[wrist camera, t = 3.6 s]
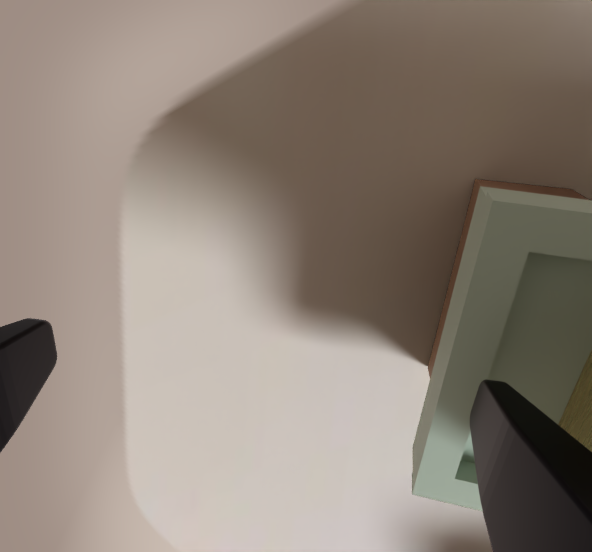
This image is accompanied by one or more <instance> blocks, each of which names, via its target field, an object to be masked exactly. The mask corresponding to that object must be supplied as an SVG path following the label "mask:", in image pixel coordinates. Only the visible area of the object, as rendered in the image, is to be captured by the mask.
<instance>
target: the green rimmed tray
mask: <svg viewBox="0 0 592 552" xmlns="http://www.w3.org/2000/svg"><path fill="white" fill-rule="evenodd" d="M591 350H592V200H585V199H577V198H569V197H561V196H553V195H545V194H537V193H530V192H522V191H514V190H506V189H498V188H490V187H482V186H480V189H479V193H478V196H477V200H476V204H475V208H474V212H473V216H472V220H471V224H470V227H469V231H468V235H467V239H466V243H465V247H464V251H463V255H462V258H461V262H460V266H459V270H458V274H457V278H456V282H455V286H454V289H453V293H452V297H451V301H450V305H449V309H448V313H447V316H446V320H445V324H444V328H443V332H442V336H441V340H440V344H439V347H438V351H437V355H436V359H435V363H434V367H433V371H432V375H431V378H430V382H429V386H428V390H427V394H426V398H425V402H424V406H423V409H422V413H421V417H420V421H419V425H418V429H417V433H416V437H415V440H414V444H413V473H412V494H413V495H417V496H421V497H425V498H429V499H433V500H437V501H442V502H446V503H450V504H454V505H458V506H462V507H466V508H471V509H475V510H479V511H483V510H482V506H481V501H480V495H479V489H478V482H477V475H476V467H475V460H474V453H473V446H472V438H471V431H470V413H471V409H472V406H473V403H474V400H475V397H476V394H477V391H478V387H479V385H480V383H481V382H482V381H483V380H485V379H487V380H495V381H502V382H506V383H507V384H509V385H510V386H511V387H512V388H514V389H515V390H516V391H517V392H519V393H520V394H521V395H522V396H523V397H525V398H526V399H527V400H528V401H530V402H531V403H532V404H533V405H535V406H536V407H537V408H538V409H539V410H541V411H542V412H543V413H544V414H546V415H547V416H548V417H549V418H550V419H552V420H553V421H554V422H555V423H557V424H559V422H560V419H561V417H562V415H563V413H564V410H565V408H566V406H567V404H568V401H569V399H570V397H571V395H572V392H573V390H574V388H575V386H576V383H577V381H578V379H579V377H580V374H581V372H582V370H583V368H584V365H585V363H586V361H587V359H588V356H589V354H590V352H591Z"/></svg>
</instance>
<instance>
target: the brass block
mask: <svg viewBox="0 0 592 552" xmlns="http://www.w3.org/2000/svg"><path fill="white" fill-rule="evenodd" d="M558 425H559V426H560V427H562V428H563V429H564V430H565V431H566V432H568V433H569V434H570V435H571V436H573V437H574V438H575V439H576V440H578V441H579V442H580V443H581V444H582V445H584V446H585V447H586V448H587V449H589V450H590V451H591V452H592V350H591V352H590V354H589V356H588V359H587V361H586V363H585V365H584V368H583V370H582V372H581V374H580V377H579V379H578V381H577V383H576V386H575V388H574V390H573V392H572V395H571V397H570V399H569V401H568V404H567V406H566V408H565V410H564V413H563V415H562V417H561V419H560V422H559V424H558Z"/></svg>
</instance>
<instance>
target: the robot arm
mask: <svg viewBox="0 0 592 552" xmlns="http://www.w3.org/2000/svg"><path fill="white" fill-rule="evenodd" d="M56 360H57V351H56V346H55V341H54V335H53V330H52V326H51V324H50V323H49V322H48V321H46V320H39V319H30V318H27V319H23V320H21V321H17V322H14V323H11V324H8V325H5V326H2V327H0V452H1V451H2V449H3V448H4V447H5V445H6V444H7V443H8V441H9V440H10V439H11V437H12V436H13V434H14V433H15V431H16V430H17V428H18V427H19V425H20V423H21V422H22V421H23V419H24V417H25V415H26V414H27V412H28V410H29V409H30V407H31V405H32V404H33V402H34V400H35V399H36V397H37V395H38V394H39V392H40V390H41V388H42V387H43V385H44V383H45V382H46V380H47V379H48V377H49V375H50V373H51V372H52V370H53V368H54V366H55V364H56ZM470 431H471V438H472V446H473V453H474V460H475V467H476V475H477V482H478V489H479V495H480V501H481V506H482V510H483V514H484V518H485V522H486V526H487V530H488V534H489V538H490V542H491V546H492V550H493V552H592V452H591V451H590V450H589V449H587V448H586V447H585V446H584V445H582V444H581V443H580V442H579V441H578V440H576V439H575V438H574V437H573V436H571V435H570V434H569V433H568V432H566V431H565V430H564V429H563V428H562V427H560V426H559V425H558V424H557V423H555V422H554V421H553V420H552V419H550V418H549V417H548V416H547V415H546V414H544V413H543V412H542V411H541V410H539V409H538V408H537V407H536V406H535V405H533V404H532V403H531V402H530V401H528V400H527V399H526V398H525V397H523V396H522V395H521V394H520V393H519V392H517V391H516V390H515V389H514V388H512V387H511V386H510V385H509V384H507V383H506V382H502V381H495V380H487V379H485V380H483V381H482V382H481V383H480V385H479V387H478V391H477V394H476V397H475V400H474V403H473V406H472V409H471V413H470Z"/></svg>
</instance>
